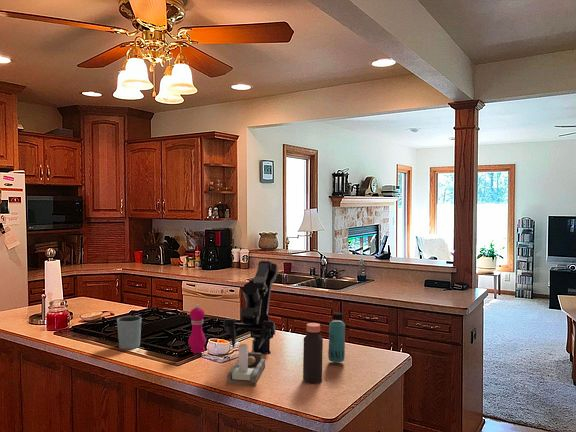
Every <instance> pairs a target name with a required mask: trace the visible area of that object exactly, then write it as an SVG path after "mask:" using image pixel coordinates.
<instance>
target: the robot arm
mask: <svg viewBox="0 0 576 432" xmlns="http://www.w3.org/2000/svg"><path fill="white" fill-rule="evenodd" d="M255 272H256V273H255V275H254V277H252V278H250V279H249V281H248V282H247V283H245V284H244V285H243V286H242V289H241V290H242V293H243V298H244V302H246V303H245V307H241V308H240V321H241V322H236V321H237V320H236V319H235V318H225V319H224V320H223V324H222V326H223V328H224V332H225V333H228V335H229V336H230V338H231V345H232V348H235V345H236V341H237V340H236V339H237V329H240V330H241V329H243V330H249V331H250V339H253V340H251V341H252V343H251V348H252V352H253V353H261V355H263V354H271V350H270V345H271V343H270V341H271V339H273V338H274V335H276V324H275V322H274V321H273V320H270V317H269V308H270V301H271V300H270V299H271V293H272V291H271V290H272V285H273V283H274V282H275V281H276V279H277V276H278V274H279V266H278V265H277V264H276V263H273V262H272V261H270V260H259V262H258V264H257V270H256V271H255Z"/></svg>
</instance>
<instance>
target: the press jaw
mask: <svg viewBox="0 0 576 432" xmlns="http://www.w3.org/2000/svg"><path fill="white" fill-rule="evenodd" d="M248 352H249V345H248V344H246V343H241V344H239V345H238V359H239V368H238V367H236V369H235V370H234V372H233V373H232V379H236V380H251V376H252V374H253V372H254V369H253V368H248Z"/></svg>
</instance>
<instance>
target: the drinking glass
mask: <svg viewBox="0 0 576 432" xmlns="http://www.w3.org/2000/svg"><path fill="white" fill-rule="evenodd" d="M142 319H143V318H142V316H139V315H126V316H121V317H118V318H116V324H117V325H116V327H117V335H118V337H117V340H118V347H119V349H121V350H133V349H134V350H135V349H137V347H138V348H139V347H140V346H141V337H142V336H141V335H142V334H141V331H142Z"/></svg>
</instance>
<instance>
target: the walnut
mask: <svg viewBox="0 0 576 432" xmlns="http://www.w3.org/2000/svg"><path fill="white" fill-rule="evenodd" d="M254 364H255V358H254V357H253V356H248V365H249V366H252V365H254Z"/></svg>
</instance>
